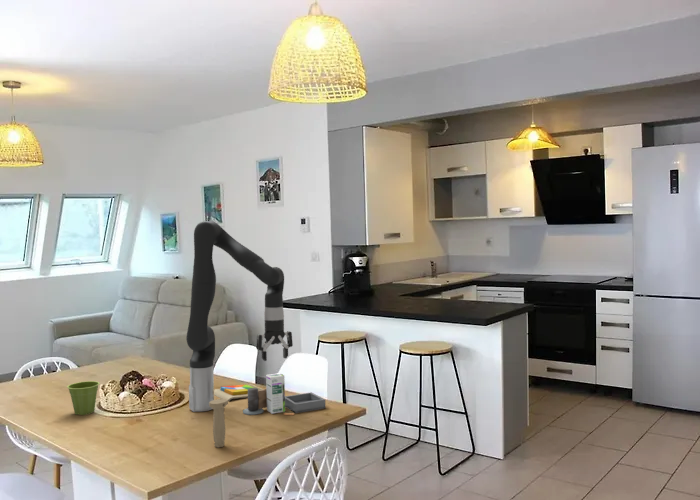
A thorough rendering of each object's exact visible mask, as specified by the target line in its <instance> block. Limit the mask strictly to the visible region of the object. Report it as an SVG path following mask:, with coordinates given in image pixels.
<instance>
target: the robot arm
mask: <svg viewBox="0 0 700 500" xmlns="http://www.w3.org/2000/svg"><path fill="white" fill-rule="evenodd" d="M193 246H194V247H193V248H194V249H193V251H194V253H193V254H194V258H193V266H192V267H193V269H192V279H191V293H190V294H191V297H190V309H189V310H190V312H189V320H188V327H187V331H186V332H187V333H186V338H185V339H186V343H187V346H188V347H189V349H190V350H192V355H191V357H190V359H189V384H188V409H190V410H191V412H193V413H194V412H208V411H211V410H214V409H213V408H211V407H210V406H209V402H210V401H213V400H215V395H214V389H215V388H214V387H215V382H214V381H215V380H214V377H215V376H214V360H215V355H216V336H215V332H214V330H213V328H212V327H211V326H209V324H208V321H209V320H208V319H209V314H210V311H211V307H212V305H213V303H214V300H215V295H216V289H217V288H216V286H217V285H216V284H217V275H216V274H217V273H216V269H215V265H214V263H213V251H214V246H215V247H217V248H219V249H221V250H223V251H224V252H225V253H226V254H228V255H229V256H230V257H231V258H232V259H233V260H234V262H236V263H237V264H238V265H240V266H241V267H242V268H244V269H246V270H247V271H248V272H250V273H252V274H253V275H254V276H255V277H256V278H257V279H259V281H260V282H262V283H263V284H265V285H266V286H267V288H266V289H267V290H266V292H265V294H264V311H263V312H264V334H259V333H258V334H257V335H256V346H255V347H256V350H258V351H260V352H261V359H262V360H263V361H264V362H267V359H268V358H267V352H268V351H267V349H268V348H269V347H270V346H271V345H275V344H276V345H279V344H281V346H282V347H283V348H282V357H283V359H288V357H289V348H292V347H293V344H294V343H293V334H292V333H293V332H291V331H289V330H288V331H285V313H284V312H285V311H284V299H283V297H284V296H283V293H284V287H285V273H284V271H283V270H282V269H281V268H280V267H278V266H273V267H272V266H270V265H269V264H268V263H267V262H266V261H265V260H264V258H262V257H261V256H260V255H258V254H257V253H255V252H254V251H252V250H251V249H250V248H248V247H246V246H245V245H243V244H241V243H240V242H239V241H237V239H235V238H234V237H233V236H231V235H230V234H229V233H228V232H227V231H226V230H225V229H224V228H223V227H221V226H220V225H219V223H217V222H215V221H208V220H207V221H206V220H203V221H200V222H199V223H197V225H196V226H195V228H194V230H193ZM285 337H286V341H285V339H284V338H285ZM263 340H264V342H263ZM286 342H287V343H286ZM262 344H263V345H262Z"/></svg>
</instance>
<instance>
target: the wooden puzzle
mask: <svg viewBox="0 0 700 500" xmlns="http://www.w3.org/2000/svg"><path fill="white" fill-rule="evenodd" d="M249 388H258V390H263V389H264V388H261V387H259V386H256V385H254V384H252V383H248V384H239V385H237V384H236V385H223V386H220V388H214V397H217V398H218V399H227V400H228V402H230V401H231V400H235V399H245V398H246V399H248V389H249Z"/></svg>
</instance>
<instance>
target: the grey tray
mask: <svg viewBox="0 0 700 500" xmlns="http://www.w3.org/2000/svg"><path fill="white" fill-rule="evenodd" d="M285 409H287V410H290V411H291V412H292V413H294V414H300V413H305V412H311V411H317V410H322V409H326V399H325V398H323V397H321V396H319V395H318V394H315V393H314V392H311V391H310V392H305V393H298V394H291V395H285Z"/></svg>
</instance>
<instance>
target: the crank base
mask: <svg viewBox="0 0 700 500" xmlns="http://www.w3.org/2000/svg"><path fill="white" fill-rule="evenodd" d="M263 413H264V408H261V409H258V410H256V411H249V410H248V407H247V408H245V409H243V410H242V414H244V415H246V416H254V415H255V416H256V415H260V414H263ZM283 415H286V416H295V413H294V412H292V413H291V412H283Z"/></svg>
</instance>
